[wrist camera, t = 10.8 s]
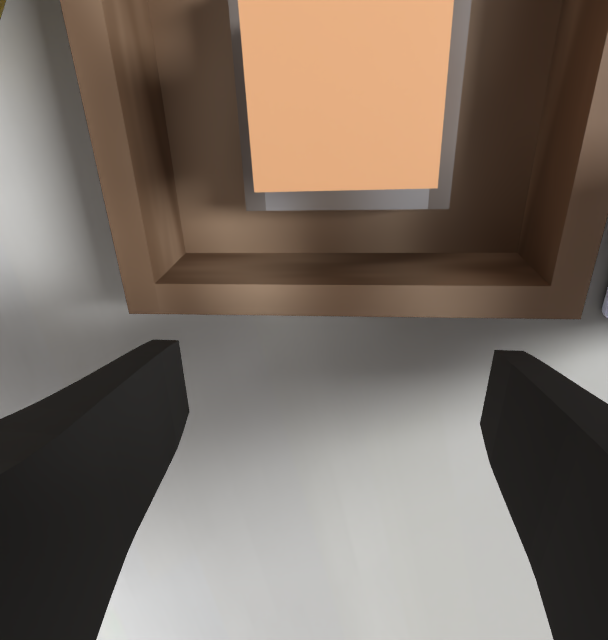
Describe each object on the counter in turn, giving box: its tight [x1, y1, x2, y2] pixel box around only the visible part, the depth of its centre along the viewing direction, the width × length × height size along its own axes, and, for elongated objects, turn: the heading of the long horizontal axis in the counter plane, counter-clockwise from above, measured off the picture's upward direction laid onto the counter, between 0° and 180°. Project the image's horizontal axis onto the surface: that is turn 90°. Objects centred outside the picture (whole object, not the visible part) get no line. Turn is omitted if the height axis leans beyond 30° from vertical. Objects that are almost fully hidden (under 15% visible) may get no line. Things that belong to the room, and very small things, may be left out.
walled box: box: [60, 0, 608, 319], centre depth 15 cm, size 16×14×4 cm
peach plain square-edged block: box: [238, 0, 454, 192], centre depth 13 cm, size 4×4×8 cm
